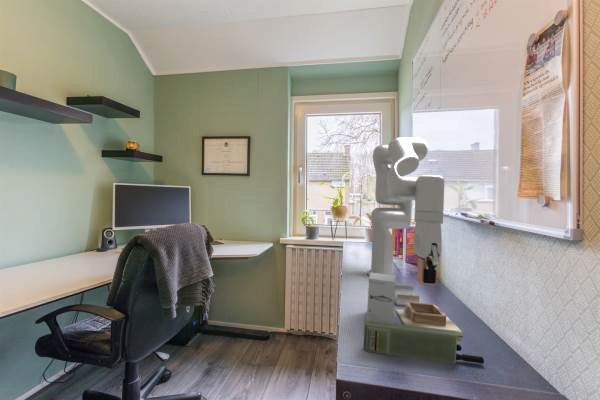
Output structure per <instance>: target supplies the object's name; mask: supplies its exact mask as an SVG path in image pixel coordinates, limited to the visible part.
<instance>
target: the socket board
mask: <svg viewBox="0 0 600 400" xmlns="http://www.w3.org/2000/svg"><path fill="white" fill-rule="evenodd" d="M395 313H396V314H397V315H398V317H399V319H400V320H401V323H402V325H410V326H419V327H428V328H436V329H445V330H453V331H459V332H460V333H461V334H462V335H457V336H459V337H463V336H464V335H463V334H464V332H463V331H462V330H461V329H460V328H459V327H458V326H457V325H456V323H454V322H453V321H452V320H451V319H450V318H449V317H448V316H447V314H446V313H445V312H444V311H442V309H441V308H440V307H439V306H438V305H435V304H434V303H428V302H427V303H426V302H419V303H417V302H406V303H405V306H404V309H402V308H396V309H395Z"/></svg>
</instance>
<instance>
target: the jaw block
mask: <svg viewBox="0 0 600 400" xmlns="http://www.w3.org/2000/svg"><path fill="white" fill-rule="evenodd" d="M428 258H430V256H429V257H428ZM429 261H431V260H428V263H429ZM424 268H425V258H421V257H418V256H417V269H416V270H417V271H416V281H417V282H418V283H420V285H426V286H437V280H438V279H437V278H438V277H437V276H438V268H437V269H436V283H435V284H432V283H424V282H423V271H424Z"/></svg>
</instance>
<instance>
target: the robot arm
mask: <svg viewBox="0 0 600 400" xmlns="http://www.w3.org/2000/svg"><path fill="white" fill-rule="evenodd" d="M428 149H429V147H428V143H427V142H426V140H425V139H424V138H421V137H404V136H403V137H396V138H393V139H392V140H391V141H390V142H389V143H388V144H378V145H377V146H376V147H375V148H374V149H373V152H372V153H373V154H372V163H373V166H374V171H375V202H376V203H377V204H378V205H385V206H387V205H388V206H398V207H377V208H374V209H373V210H372V211H371V214H370V219H371V230H372V232H371V233H372V235H371V236H372V238H371V239H372V240H371V241H372V242H371V262H370V263H371V265H370V267H371V268H370V270H368V271H367V275H368V276H369V277H370V273H371V272H372V273H379V274H386V275H394V276H396V277H397V275H396V273H395V272H394V271H393V269H394V247H395V246H394V245H395V243H394V242H395V241H394V240H395V238H394V236H393V234H392V233H391V232H390V230H389V229H393V230H394V229H395V230H397V229H398V230H405V229H408V228H409V227H410V226H411V222H412V208H413V206H412V205H413V201H414V223H415V225H414V226H415V227H414V231H413V242H412V243H413V245H412V252H413V253H414V254H415V255H417V258H418V257H421V258H425V268H424V271H423V282H424V283H432V284H435V283H436V284H437V281H436V269H437V270H438V264H439V262H440V258H441V257H442V250H443V249H442V247H443V245H442V244H443V242H442V236H443V235H442V225H443V224H444V205H445V203H444V202H445V178H444V177H443V176H442V175H436V174H432V175H431V174H428V175H427V174H425V175H424V174H423V175H420V176H407V175H410V174H412V173H414V172H415V171H416V170H417V169H418V168H419V166H420V162H422V160H424V159H425V157H427V155H428V151H429V150H428ZM428 257H429V258H428ZM428 260H431V261H429V263H428Z"/></svg>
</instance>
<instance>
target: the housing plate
mask: <svg viewBox="0 0 600 400" xmlns="http://www.w3.org/2000/svg"><path fill="white" fill-rule="evenodd" d="M406 302H417V303H420V295H419V294H418V293H417V292H416V291H415V289H414V285H412V284H400V283H399V284H398V283H395V301H394V304H395V305H396V306H403V307H405V303H406Z"/></svg>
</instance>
